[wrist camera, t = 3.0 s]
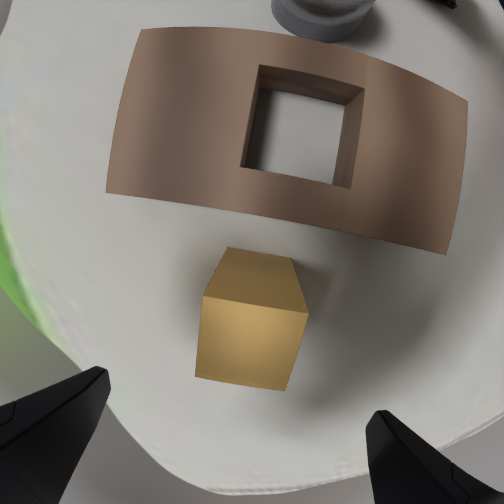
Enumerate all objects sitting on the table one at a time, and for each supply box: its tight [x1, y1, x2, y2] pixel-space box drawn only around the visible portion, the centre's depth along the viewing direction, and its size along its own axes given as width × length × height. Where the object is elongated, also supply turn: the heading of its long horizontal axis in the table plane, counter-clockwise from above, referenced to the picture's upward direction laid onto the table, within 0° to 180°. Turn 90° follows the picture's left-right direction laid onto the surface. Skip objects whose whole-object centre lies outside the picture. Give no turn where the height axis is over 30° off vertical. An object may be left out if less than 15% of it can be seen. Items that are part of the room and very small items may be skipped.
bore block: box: [106, 27, 468, 255], centre depth 15 cm, size 20×10×4 cm, turn 80°
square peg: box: [195, 247, 309, 391], centre depth 15 cm, size 4×4×8 cm
